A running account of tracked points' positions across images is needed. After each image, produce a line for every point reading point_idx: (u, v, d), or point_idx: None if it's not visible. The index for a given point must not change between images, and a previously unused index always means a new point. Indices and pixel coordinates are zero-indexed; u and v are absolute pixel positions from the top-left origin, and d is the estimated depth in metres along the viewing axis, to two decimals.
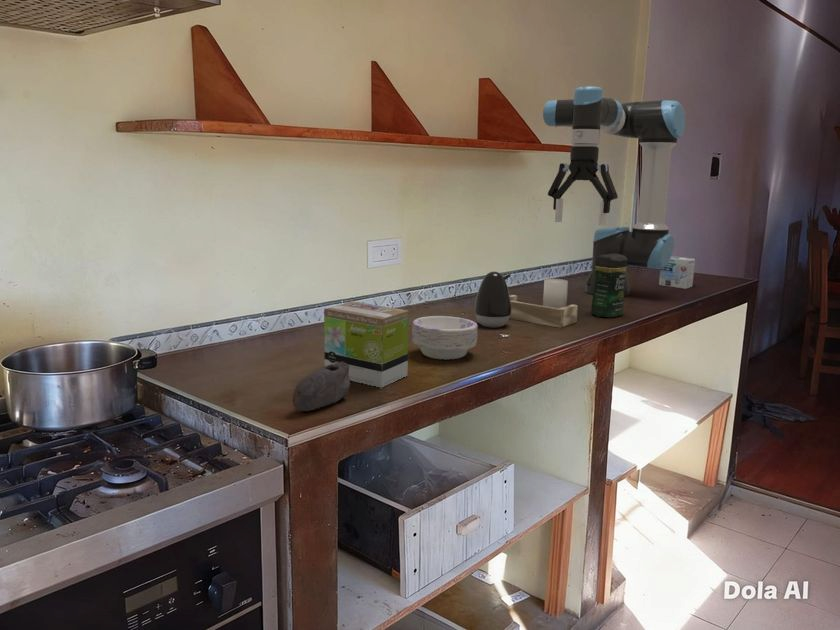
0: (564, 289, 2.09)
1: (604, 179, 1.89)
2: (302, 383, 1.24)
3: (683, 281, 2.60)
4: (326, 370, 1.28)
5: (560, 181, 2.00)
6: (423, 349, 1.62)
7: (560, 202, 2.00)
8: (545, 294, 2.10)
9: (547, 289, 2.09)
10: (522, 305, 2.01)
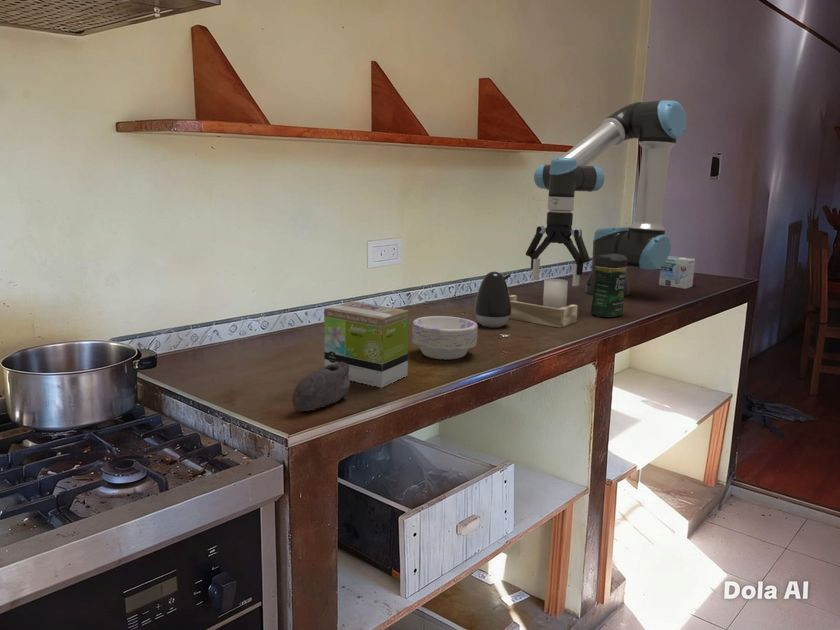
0: (564, 289, 2.09)
1: (577, 244, 2.03)
2: (302, 383, 1.24)
3: (683, 281, 2.60)
4: (326, 370, 1.28)
5: (537, 242, 2.13)
6: (423, 349, 1.62)
7: (537, 262, 2.14)
8: (545, 294, 2.10)
9: (547, 289, 2.09)
10: (522, 305, 2.01)
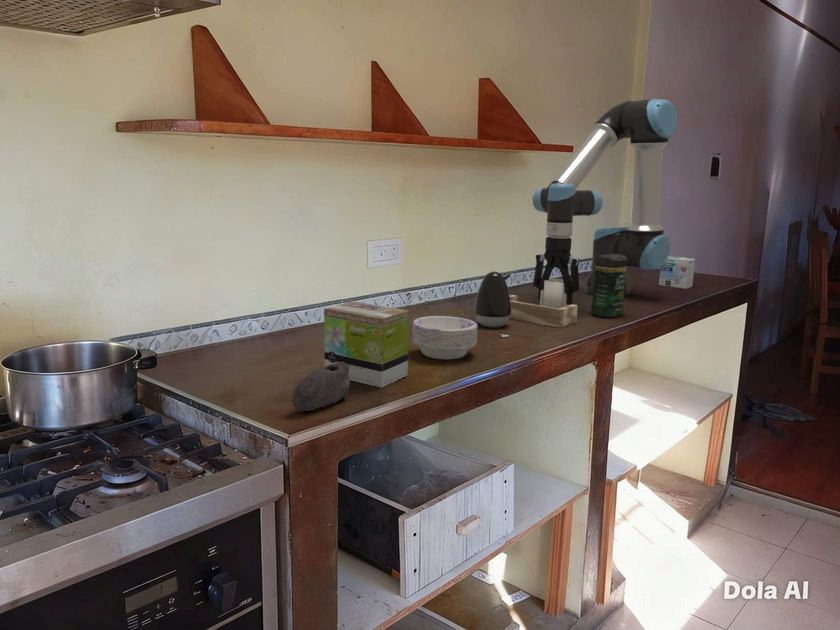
0: (564, 289, 2.09)
1: (572, 272, 2.06)
2: (302, 383, 1.24)
3: (683, 281, 2.60)
4: (326, 370, 1.28)
5: (541, 271, 2.14)
6: (423, 349, 1.62)
7: None
8: (545, 294, 2.10)
9: (547, 289, 2.09)
10: (522, 305, 2.01)
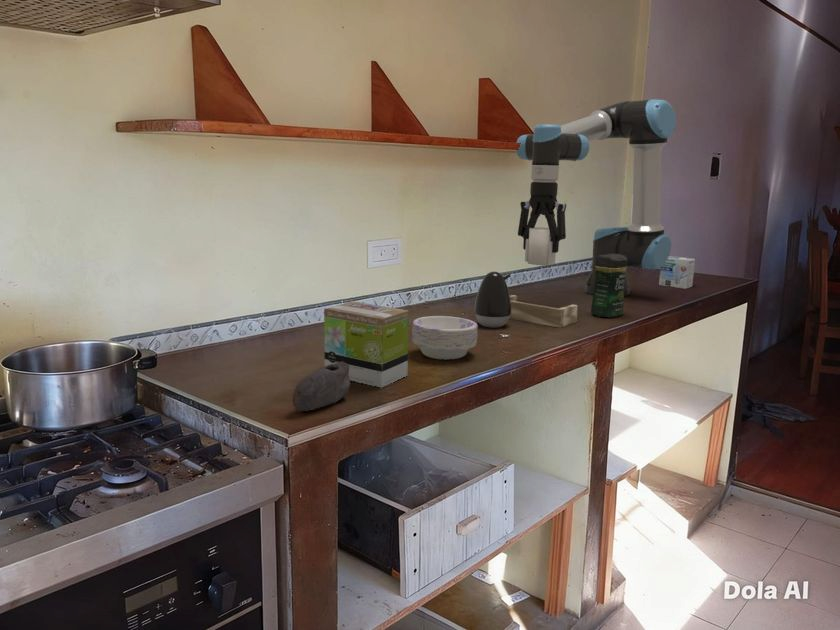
0: (550, 236, 1.98)
1: (558, 218, 1.95)
2: (302, 383, 1.24)
3: (683, 281, 2.60)
4: (326, 370, 1.28)
5: (526, 219, 2.03)
6: (423, 349, 1.62)
7: None
8: (530, 242, 2.00)
9: (532, 237, 1.99)
10: (522, 305, 2.01)
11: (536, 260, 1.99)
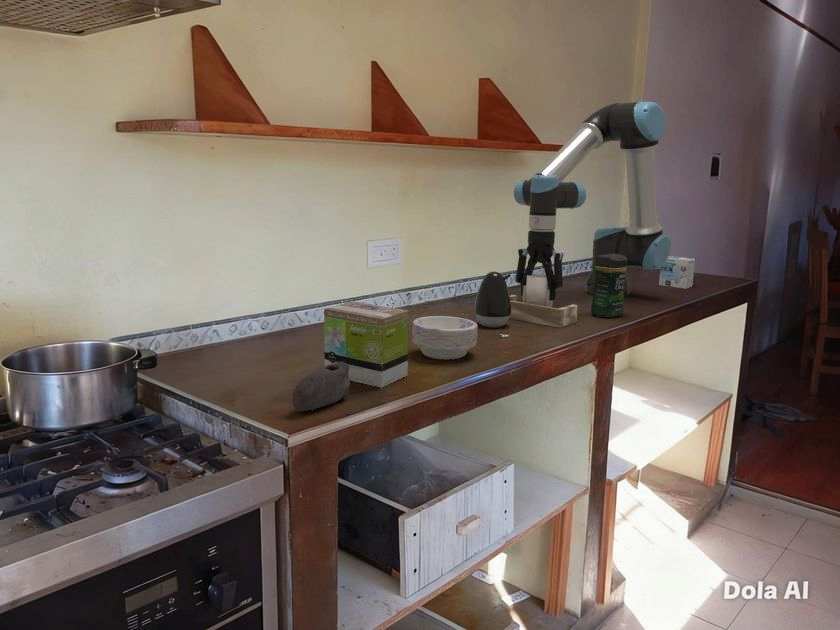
0: (547, 284, 2.00)
1: (555, 267, 1.98)
2: (302, 382, 1.24)
3: (683, 281, 2.60)
4: (326, 370, 1.28)
5: (523, 266, 2.06)
6: (423, 349, 1.62)
7: None
8: (528, 290, 2.02)
9: (529, 285, 2.01)
10: (522, 305, 2.01)
11: None
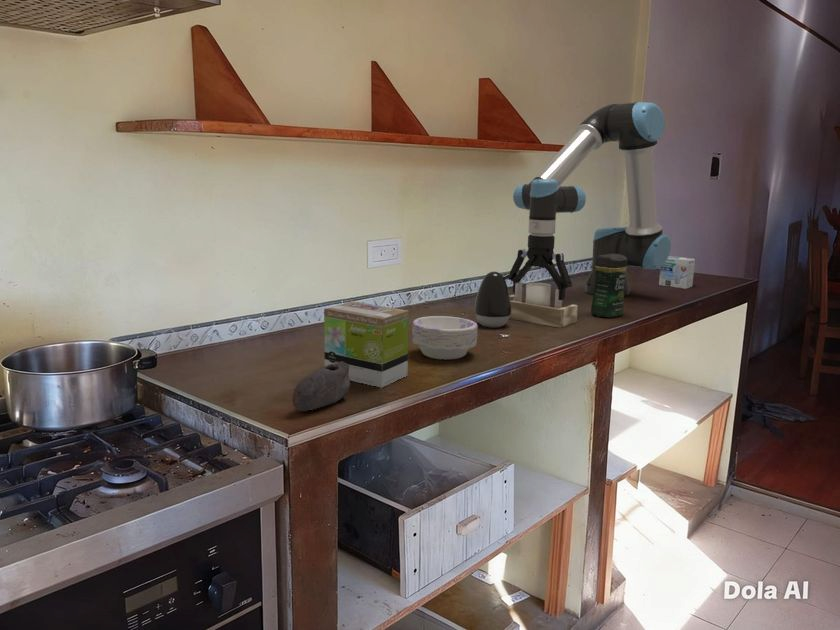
0: (546, 293, 2.01)
1: (559, 268, 1.97)
2: (302, 382, 1.24)
3: (683, 281, 2.60)
4: (326, 370, 1.28)
5: (519, 266, 2.07)
6: (423, 349, 1.62)
7: (519, 286, 2.08)
8: (527, 298, 2.03)
9: (529, 294, 2.02)
10: (522, 305, 2.01)
11: None
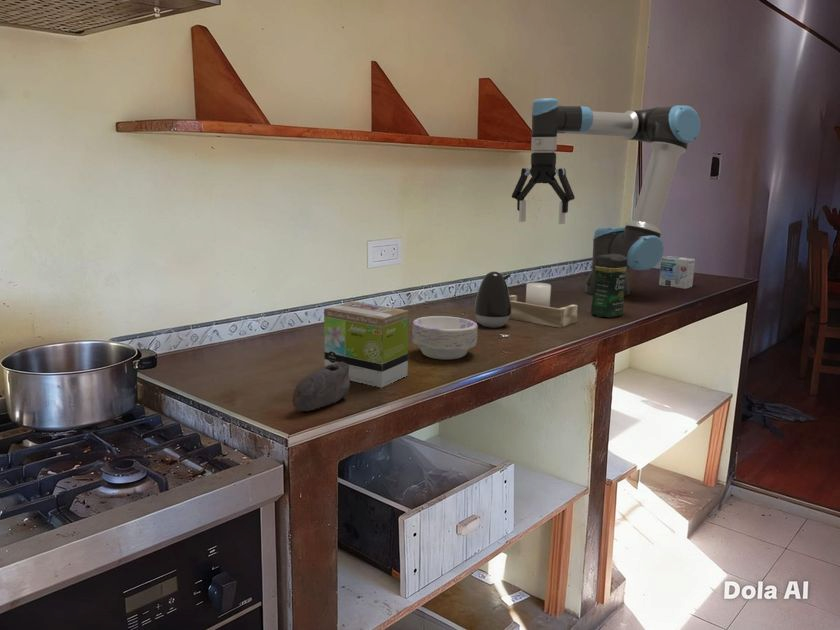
0: (547, 293, 2.01)
1: (562, 182, 2.09)
2: (302, 383, 1.24)
3: (683, 281, 2.60)
4: (326, 370, 1.28)
5: (522, 184, 2.18)
6: (423, 349, 1.62)
7: (523, 204, 2.19)
8: (527, 298, 2.03)
9: (529, 294, 2.02)
10: (522, 305, 2.01)
11: None
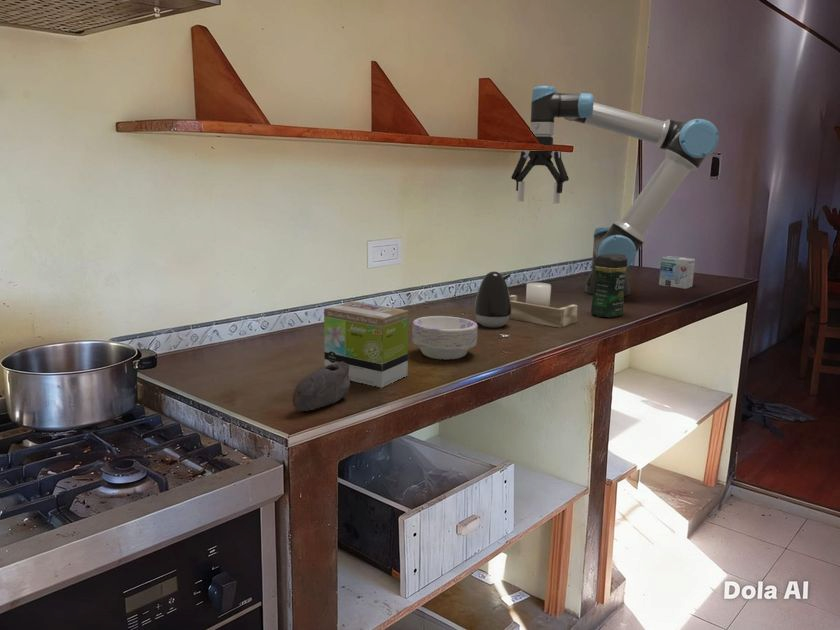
0: (547, 293, 2.01)
1: (557, 164, 2.24)
2: (302, 383, 1.24)
3: (683, 281, 2.60)
4: (326, 370, 1.28)
5: (522, 166, 2.35)
6: (423, 349, 1.62)
7: (522, 184, 2.35)
8: (527, 298, 2.03)
9: (529, 294, 2.02)
10: (522, 305, 2.01)
11: None
